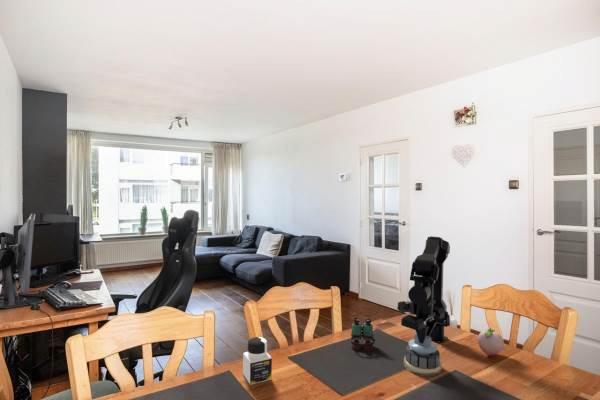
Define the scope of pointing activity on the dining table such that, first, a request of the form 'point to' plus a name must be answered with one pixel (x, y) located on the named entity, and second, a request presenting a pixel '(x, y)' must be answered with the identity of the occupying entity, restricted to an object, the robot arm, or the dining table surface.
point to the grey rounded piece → (422, 346)
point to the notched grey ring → (422, 363)
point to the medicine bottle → (257, 361)
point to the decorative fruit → (490, 342)
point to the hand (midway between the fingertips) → (422, 342)
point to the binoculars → (362, 335)
